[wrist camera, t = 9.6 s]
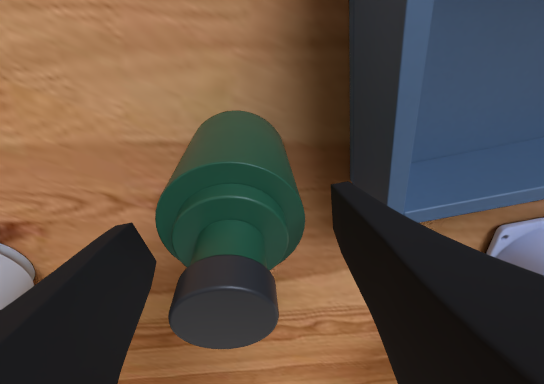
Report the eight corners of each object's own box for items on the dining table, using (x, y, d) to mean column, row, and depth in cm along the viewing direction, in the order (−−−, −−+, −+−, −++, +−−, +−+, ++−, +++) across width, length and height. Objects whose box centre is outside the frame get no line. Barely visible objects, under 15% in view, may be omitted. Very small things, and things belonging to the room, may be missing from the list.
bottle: (290, 187, 15) (336, 355, 7) (208, 203, 15) (163, 385, 7) (276, 101, 12) (327, 219, 4) (175, 121, 12) (46, 272, 5)
